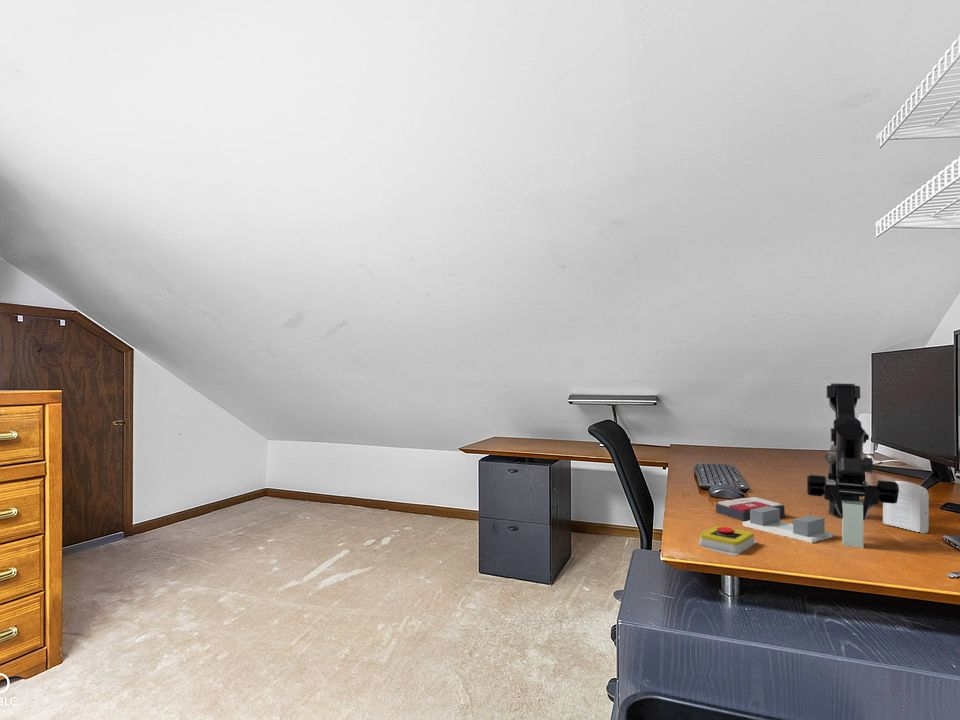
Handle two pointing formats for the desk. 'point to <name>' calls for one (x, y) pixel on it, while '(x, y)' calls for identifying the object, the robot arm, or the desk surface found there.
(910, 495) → the white rounded upright block
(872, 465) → the robot arm
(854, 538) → the block
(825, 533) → the rail board
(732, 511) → the calculator
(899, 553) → the desk surface
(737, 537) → the emergency button
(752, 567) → the desk surface
